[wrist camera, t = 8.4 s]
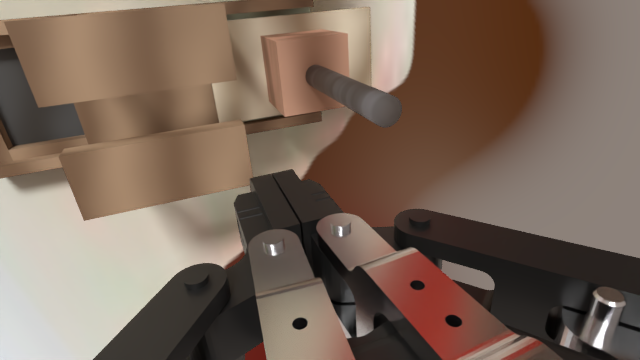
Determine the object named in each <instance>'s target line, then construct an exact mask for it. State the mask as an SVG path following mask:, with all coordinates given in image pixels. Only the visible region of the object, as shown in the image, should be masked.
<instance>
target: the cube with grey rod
mask: <svg viewBox="0 0 640 360" xmlns="http://www.w3.org/2000/svg"><path fill="white" fill-rule="evenodd" d="M227 23H228V29H229V35H230V41H231V47H232V53H233V59H234V65H235V71H236V77H237V80H235V81H228V82H220V83H213V84H211V85H212V90H213V95H214V100H215V105H216V110H217V115H218V120H219V123H221V122H227V121H233V120H239V119H241V120H242V121H246V120H252V119H258V118H264V117H270V116H276V115H283V116H284V117H288V116H294V115H300V114H306V113H311V112H317V111H323V110H329V109H335V108H341V107H348V108H349V109H351V110H353V111H354V112H356V113H358V114H360V115H361V116H363V117H365V118H366V119H368V120H370V121H372V122H373V123H375V124H377V125H379V126H380V127H390V126H392V125H394V124H395V123H396V122H397V121H398V119H399V118H400V116H401V112H402V105H401V102H400V101H399V99H398V98H397V97H395V96H393V95H390V94H388V93H385V92H383V91H381V90H378V89H376V88H373V87H371V30H370V7H362V8H351V9H341V10H330V11H320V12H309V13H299V14H289V15H278V16H268V17H257V18H247V19H236V20H227Z"/></svg>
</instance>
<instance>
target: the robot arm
mask: <svg viewBox="0 0 640 360" xmlns="http://www.w3.org/2000/svg"><path fill="white" fill-rule="evenodd" d="M250 188H251V192H250V193H245V194H241V195H238V196H237V198H236V200H235V202H234V207H235V212H236V217H237V222H238V227H239V233H240V238H241V242H242V246H243V249H244V252H245V256H244V257H243V258H242V259H241V260H240V261H239V262H238V263H236V264H235V265H234V266H232V267H230V268H228V269H226V270H224V269H223V268H222V267H221V266H219V265H217V264H212V263H203V264H197V265H193V266H190V267H188V268H186V269H184V270H182V271H180V272H179V273H177V274H176V275H175V276H174V277H173V278H172V279H171V280H170V281H169V282H168V283H167V284H166V285H165V286H164V287H163V288H162V289H161V290H160V291H159V292H158V293H157V294H156V295H155V296H154V297H153V298H152V299H151V300H150V301H149V302H148V304H147V305H146V306H145V307H144V308H143V309H142V310H141V311H140V312H139V313H138V314H137V315H136V316H135V317H134V318H133V319H132V320H131V321H130V322H129V323H128V324H127V325H126V326H125V327H124V328H123V329H122V330H121V331H120V332H119V333H118V334H117V335H116V336H115V337H114V338H113V340H112V341H111V342H110V343H109V344H108V345H107V346H106V347H105V348H104V349H103V350H102V351H101V352H100V353H99V354H98V355H97V356H96V357H95V358H94V359H93V360H245V353H247V352H248V351H250V350H251V349H253V348H254V347H256V346H257V345H259V344H260V343H262V342H263V341H264V346H265V352H266V358H267V360H640V258H636V257H632V256H627V255H623V254H618V253H614V252H610V251H605V250H601V249H596V248H592V247H587V246H583V245H579V244H574V243H570V242H565V241H561V240H557V239H552V238H548V237H543V236H539V235H535V234H531V233H526V232H522V231H517V230H513V229H508V228H504V227H499V226H495V225H491V224H486V223H482V222H478V221H473V220H469V219H465V218H460V217H455V216H451V215H447V214H442V213H438V212H433V211H429V210H424V209H410V210H406V211H403V212H400V213H399V214H398V215H397V216H396V217H395V219H394V227H370V226H369V225H368V224H367V223H366V222H365V221H363V220H362V219H361V218H360V217H358V216H356V215H352V214H347V213H343V211H342V210H341V209H340V208H339V207H338V205H337V204H336V203H335V202H334V200H333V199H332V198H330V196H329V194H328V193H327V192H326V191H325V190H324V188H323V187H322V186H321V185H320V184H318V183H316V182H314V181H312V180H310V179H309V180H304V181H301V180H300V179H299V178H298V176H297V175H296V174H295V172H294V171H293V170H292V169H291V170H286V171H282V172H277V173H272V174H268V175H263V176H258V177H253V178H250ZM442 260H446V261H449V262H452V263H456V264H460V265H463V266H466V267H470V268H473V269H477V270H480V271H483V272H485V273H487V274H488V275H490V276H491V277H492V279H493V280H494V283H495V288H494V290H484V289H481V288H478V287H474V286H472V285H468V284H465V283H462V282H459V281H455V280H452V279H450V278H449V277H448V276H447V275H446V274H445V273H443V272H442V271H441V269H442Z"/></svg>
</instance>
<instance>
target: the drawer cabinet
mask: <svg viewBox="0 0 640 360" xmlns="http://www.w3.org/2000/svg"><path fill="white" fill-rule="evenodd" d="M310 7H314V6H313V0H239V1H227V2H215V3H203V4H190V5H178V6H166V7H154V8H142V9H130V10H118V11H106V12H94V13H81V14H69V15H57V16H45V17H33V18H21V19H9V20H0V178H5V177H11V176H16V175H22V174H28V173H33V172H39V171H44V170H50V169H56V168H61V167H63V170H64V172H65V174H66V177H67V179H68V182H69V184H70V187H71V189H72V192H73V194H74V197H75V199H76V202H77V204H78V207H79V209H80V212H81V214H82V217H83V219H84V221H85V220H90V219H94V218H99V217H104V216H108V215H113V214H118V213H122V212H127V211H131V210H136V209H141V208H145V207H150V206H155V205H159V204H164V203H169V202H173V201H178V200H183V199H187V198H192V197H197V196H201V195H206V194H211V193H215V192H220V191H225V190H229V189H234V188H238V187H243V186H248V185H250V178H253V174H252V167H251V161H250V155H249V149H248V143H247V137H246V134H252V133H257V132H263V131H269V130H274V129H280V128H286V127H291V126H297V125H302V124H308V123H314V122H319V121H322V116H321V111H317V112H311V113H306V114H300V115H294V116H288V117H284V116H283V115H276V116H270V117H264V118H258V119H252V120H246V121H242V120H241V119H239V120H233V121H227V122H221V123H219V120H218V115H217V110H216V105H215V100H214V95H213V90H212V85H211V84H213V83H220V82H228V81H235V80H237V77H236V71H235V65H234V59H233V53H232V47H231V41H230V35H229V29H228V23H227V20H236V19H247V18H257V17H268V16H278V15H289V14H299V13H309V12H311V11H310Z"/></svg>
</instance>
